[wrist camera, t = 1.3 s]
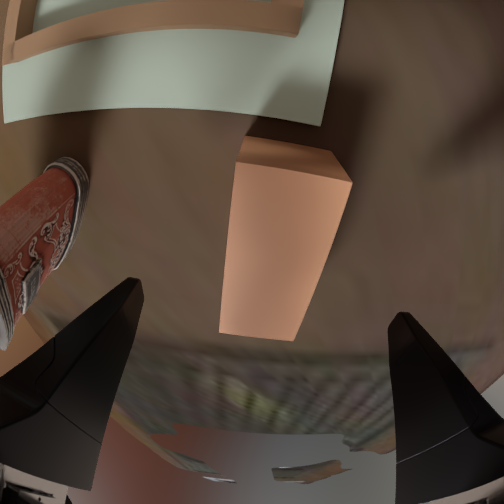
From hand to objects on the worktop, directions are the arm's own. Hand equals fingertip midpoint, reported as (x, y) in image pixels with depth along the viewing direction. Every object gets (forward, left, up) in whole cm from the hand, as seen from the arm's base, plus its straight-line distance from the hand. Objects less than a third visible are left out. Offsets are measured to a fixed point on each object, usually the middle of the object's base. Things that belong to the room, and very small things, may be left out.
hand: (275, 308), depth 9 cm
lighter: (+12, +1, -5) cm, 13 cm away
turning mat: (+7, -12, -5) cm, 15 cm away
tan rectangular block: (0, 0, -5) cm, 5 cm away
